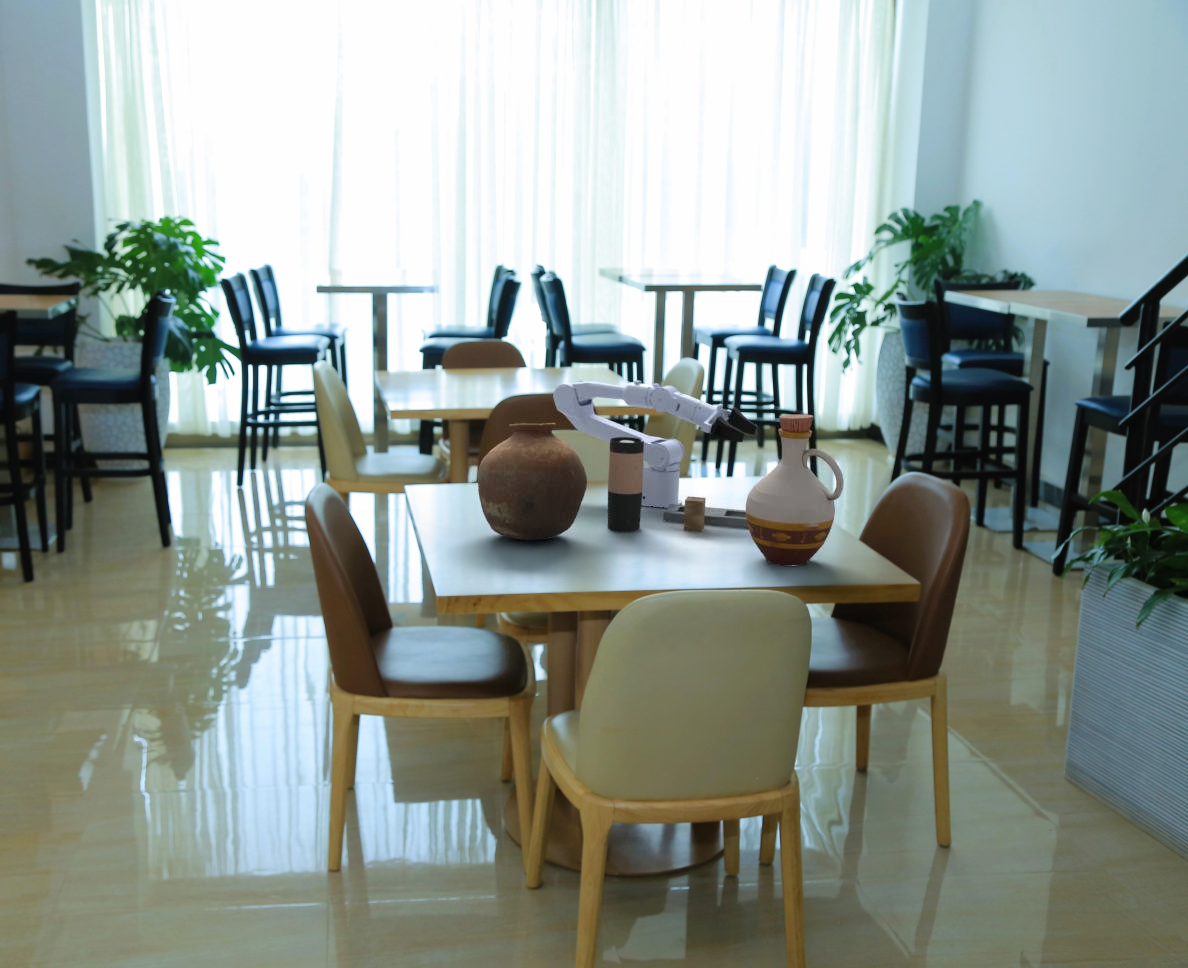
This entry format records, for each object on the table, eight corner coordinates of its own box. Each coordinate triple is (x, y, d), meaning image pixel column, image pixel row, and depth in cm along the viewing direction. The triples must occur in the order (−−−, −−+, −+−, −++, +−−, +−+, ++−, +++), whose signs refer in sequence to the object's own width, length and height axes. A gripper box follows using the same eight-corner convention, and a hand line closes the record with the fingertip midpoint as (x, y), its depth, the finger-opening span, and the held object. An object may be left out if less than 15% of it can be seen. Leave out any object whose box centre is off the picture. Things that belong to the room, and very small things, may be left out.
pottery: (538, 557, 238) (541, 434, 233) (454, 537, 251) (455, 420, 246) (606, 537, 256) (610, 422, 251) (524, 519, 269) (526, 410, 264)
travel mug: (600, 529, 262) (603, 440, 258) (615, 522, 269) (619, 435, 265) (631, 534, 259) (635, 444, 255) (646, 527, 266) (650, 439, 262)
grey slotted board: (663, 520, 272) (663, 512, 272) (669, 512, 281) (670, 504, 281) (759, 529, 268) (759, 520, 267) (763, 520, 276) (763, 511, 276)
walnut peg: (683, 530, 264) (684, 500, 263) (686, 526, 268) (687, 496, 266) (701, 532, 263) (702, 501, 262) (703, 528, 267) (705, 497, 265)
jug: (851, 560, 244) (862, 415, 238) (821, 579, 229) (832, 426, 223) (762, 545, 254) (771, 405, 247) (728, 563, 239) (736, 415, 232)
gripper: (689, 403, 273) (742, 425, 268) (715, 391, 285) (766, 411, 280) (681, 431, 276) (733, 453, 271) (707, 417, 288) (757, 438, 283)
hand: (749, 434), depth 275 cm, fingers open, 7 cm apart
